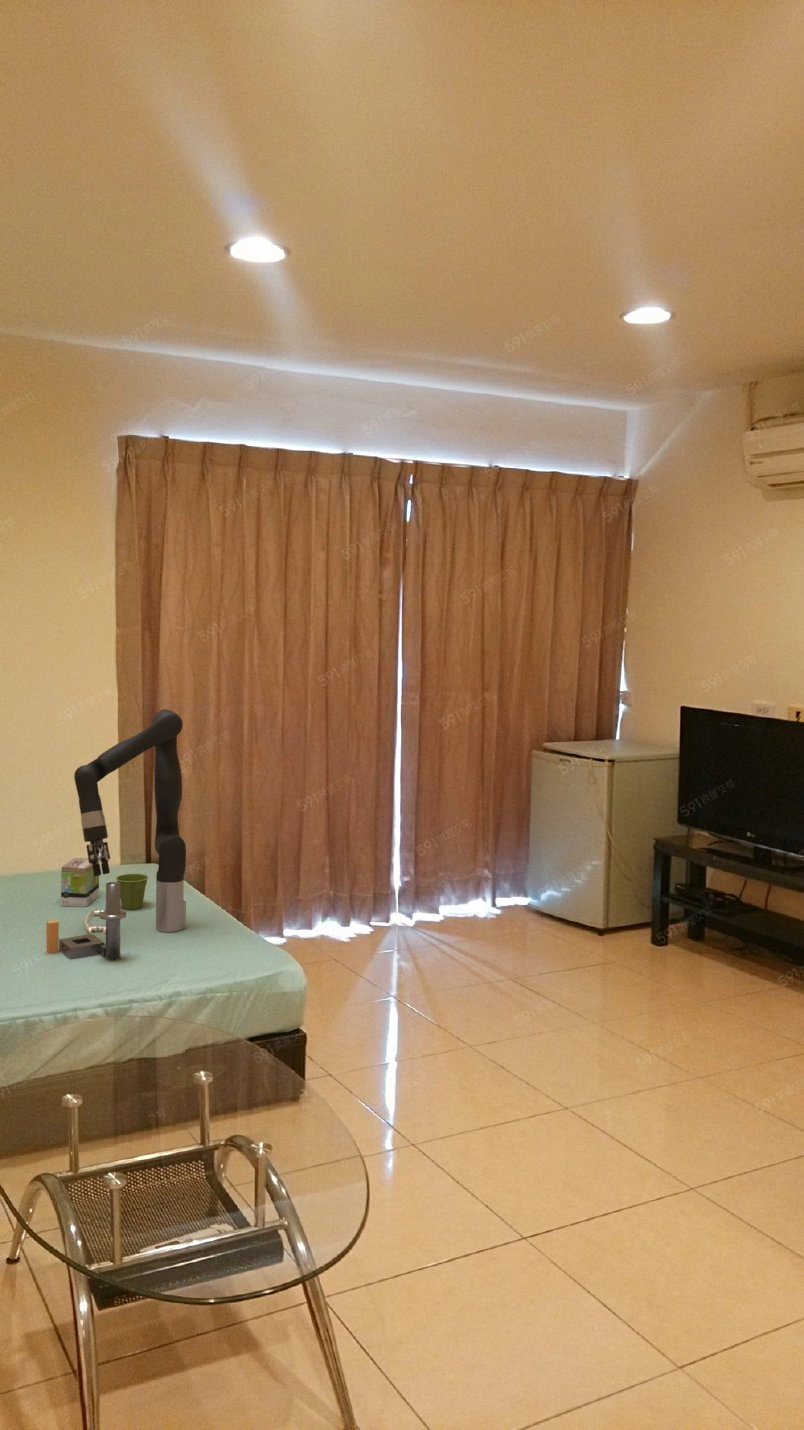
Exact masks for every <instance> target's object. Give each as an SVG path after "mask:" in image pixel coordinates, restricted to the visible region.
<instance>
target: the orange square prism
mask: <svg viewBox="0 0 804 1430" xmlns="http://www.w3.org/2000/svg"><path fill="white" fill-rule="evenodd" d="M45 923H46V953H47V952H48V953H49V955H52V954H51V953H54V954H57V953H56V952H60V950H59V939H60V938H59V936H60V935H59V931H60V929H59V927H60V926H59V925H60V924H59V923H60V922H59V921H58V920H56V919H55V920H53V919H52V920H49V921H47V920H46V922H45ZM48 953H47V954H48Z"/></svg>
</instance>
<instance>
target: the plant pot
mask: <svg viewBox="0 0 804 1430" xmlns="http://www.w3.org/2000/svg"><path fill="white" fill-rule="evenodd" d="M149 878H150V877H149V875H147V874H144V873H143V874H142V873H124V874H120V875H118V876H116V877H115V881H116V882H119V883H120V905H121V908H122V909H124V910H126V911H127V910H128V911H129V910H139V909H141V908H143V905H144V898H145V893H146V887H147V883H148V879H149Z"/></svg>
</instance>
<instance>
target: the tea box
mask: <svg viewBox="0 0 804 1430" xmlns="http://www.w3.org/2000/svg"><path fill="white" fill-rule="evenodd" d="M60 875H61V878H60V879H61V880H60V883H61V884H60V892H61V893H60V906H62V907H75V908H76V907H79V908H83V907H84V908H86V907H88V906H89V905H90V904H91V903H92V902H93V901H95V900H96V899H97V898H98V897H100V876H94V872H93V866H92V865H91V863H89V860H88V857H87V858H85V857H84V858H83V857H73V858H72V859H71V860H70V861H68V862H67V863H65V864H63V866H61V874H60Z"/></svg>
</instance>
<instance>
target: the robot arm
mask: <svg viewBox="0 0 804 1430" xmlns="http://www.w3.org/2000/svg"><path fill="white" fill-rule="evenodd" d="M182 729H183V720H182V718H181V717H180V715H178V713H176V712H174V711H172V710H170V709H168V708H167V709H161V710H158V711H157V712H156V713H155V715H154V716H153V718H152V722H151V724H150V725H149V726H148V727H146V728H145V729H144V730H142V731H141V732H139V733H137V734H136V735H133V736H131V737H129V738H126V739H124V740H123V741H120V742H118V743H116V744H115V745H113V746H112V747H110V748H108V749H107V750H105V751H104V752H102V753H101V754H100V755H99V756H98V757H97V758H95V759H94V760H92V761H91V762H89V763H87V764H83V765H80V766H79V767H77V769H76V770H75V772H74V775H73V777H74V783H75V787H76V792H77V796H78V805H79V810H80V822H81V827H82V834H83V840H84V842H86V843H89V842H90V843H89V844H86V850H87V851H86V852H87V853H86V854H87V858H88V860H89V863H91V865H92V866H93V872H94V876H99V877H100V876H102V874H103V875H107V874H110V872H111V871H110V866H109V861H110V860H111V855H110V851H109V850H110V849H109V844H108V841H104V839H105V840H106V839H108V837H109V835H108V830H107V823H106V817H105V814H104V811H103V806H102V800H101V796H100V793H99V785H98V782H100V781H101V780H103V779H104V778H105V777H106V776H107V775H109V774H111V773H113V772H115V771H116V770H118V769H119V768H120V769H121V767H122V766H124V765H126V764H127V763H129V762H130V761H132V760H133V759H136V757H138V756H140V755H141V754H142V753H144V752H146V751H148V750H151V748H154V771H153V772H154V773H153V774H154V775H153V778H154V780H153V781H154V786H153V787H154V788H153V789H154V801H155V802H154V803H155V814H156V825H155V826H156V827H155V836H154V837H155V838H154V849H155V851H156V853H157V855H158V868H157V871H156V876H155V877H156V879H155V880H156V885H155V888H156V889H155V890H156V891H155V892H156V895H155V897H156V898H155V899H156V902H155V904H156V905H155V929H156V931H158V932H163V933H173V932H179V931H182V930H184V929H186V928H187V927H186V926H187V925H186V924H187V923H186V922H187V921H186V919H187V915H186V914H187V901H186V900H185V899H184V893H185V892H184V890H185V889H184V887H185V886H184V885H185V882H184V881H185V880H184V879H185V873H186V865H187V864H186V863H187V860H186V859H187V844H186V842H185V841H184V839H183V838H182V837H181V835H180V831H179V811H180V807H181V802H182V799H183V798H182V797H183V778H182V776H183V775H182V770H181V763H180V759H179V756H178V736H179V734H181V732H182ZM100 863H101V864H100Z"/></svg>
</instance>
